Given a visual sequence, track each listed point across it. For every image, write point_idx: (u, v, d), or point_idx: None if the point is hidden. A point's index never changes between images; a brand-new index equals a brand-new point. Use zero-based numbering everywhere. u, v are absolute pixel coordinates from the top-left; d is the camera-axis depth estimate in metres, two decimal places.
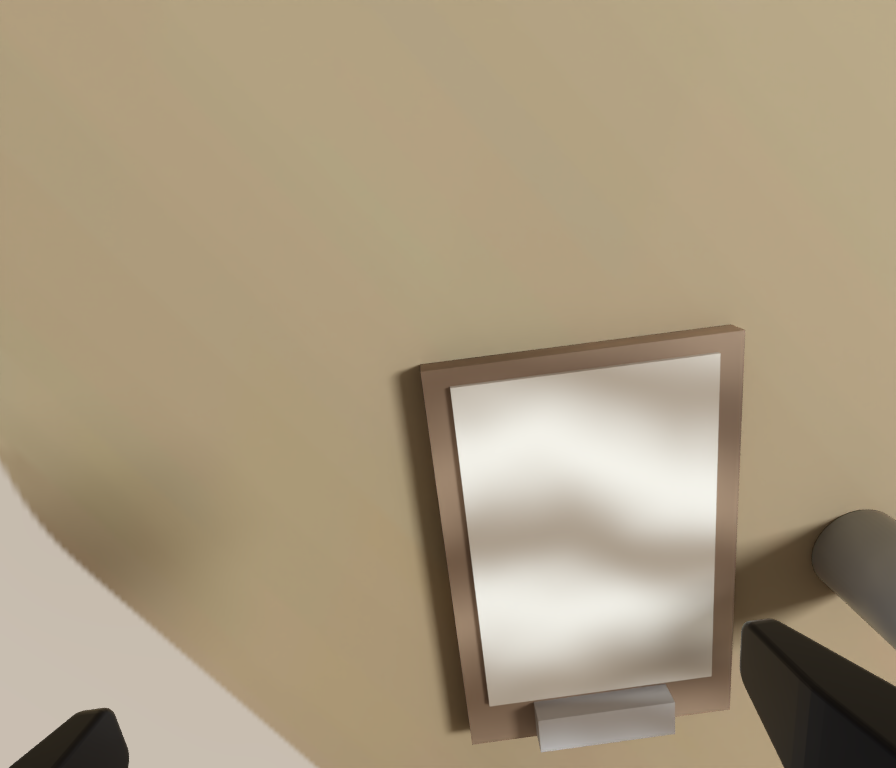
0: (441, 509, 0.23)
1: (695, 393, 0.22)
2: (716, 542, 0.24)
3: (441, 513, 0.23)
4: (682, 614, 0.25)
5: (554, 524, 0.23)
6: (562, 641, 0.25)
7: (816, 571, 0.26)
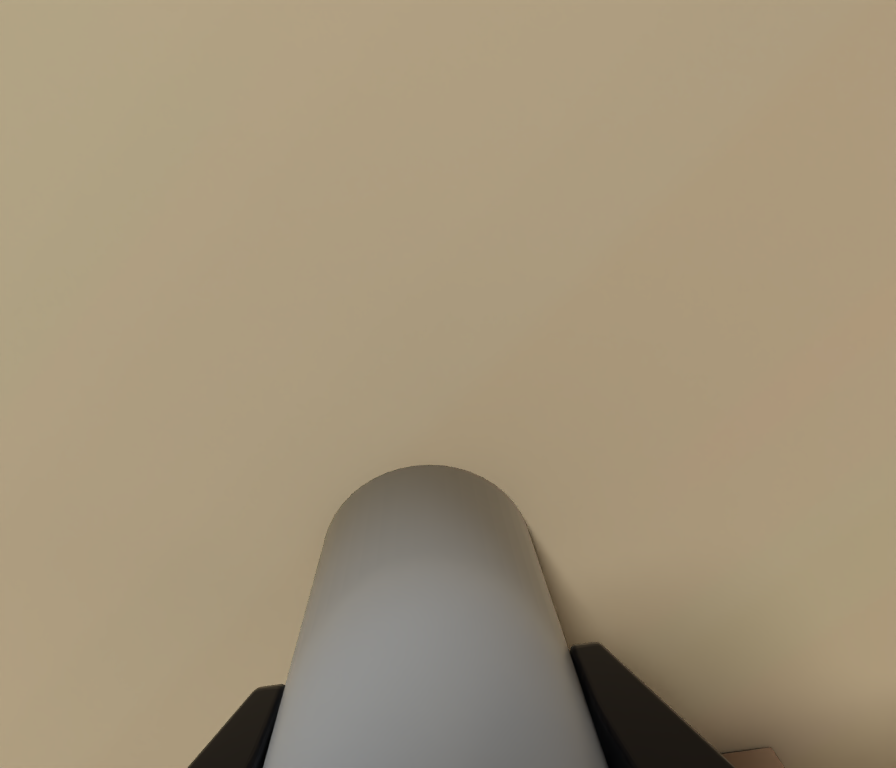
0: None
1: None
2: None
3: None
4: None
5: None
6: None
7: None
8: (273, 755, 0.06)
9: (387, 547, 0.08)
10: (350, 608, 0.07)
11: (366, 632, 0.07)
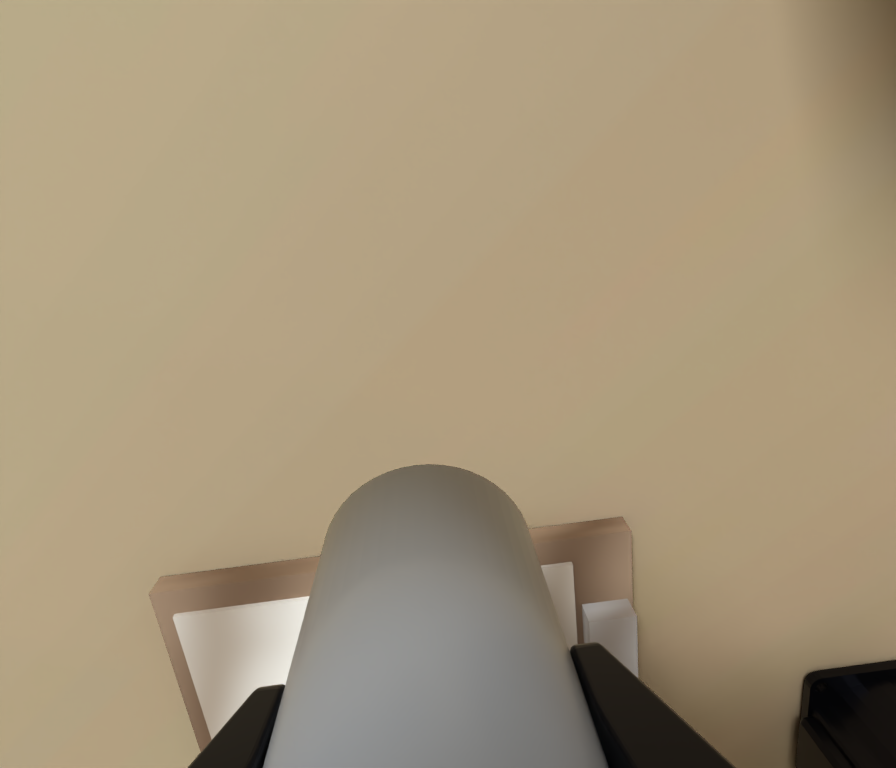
0: None
1: (217, 632, 0.22)
2: None
3: None
4: None
5: None
6: None
7: None
8: (273, 754, 0.06)
9: (387, 547, 0.08)
10: (350, 607, 0.07)
11: (366, 632, 0.07)
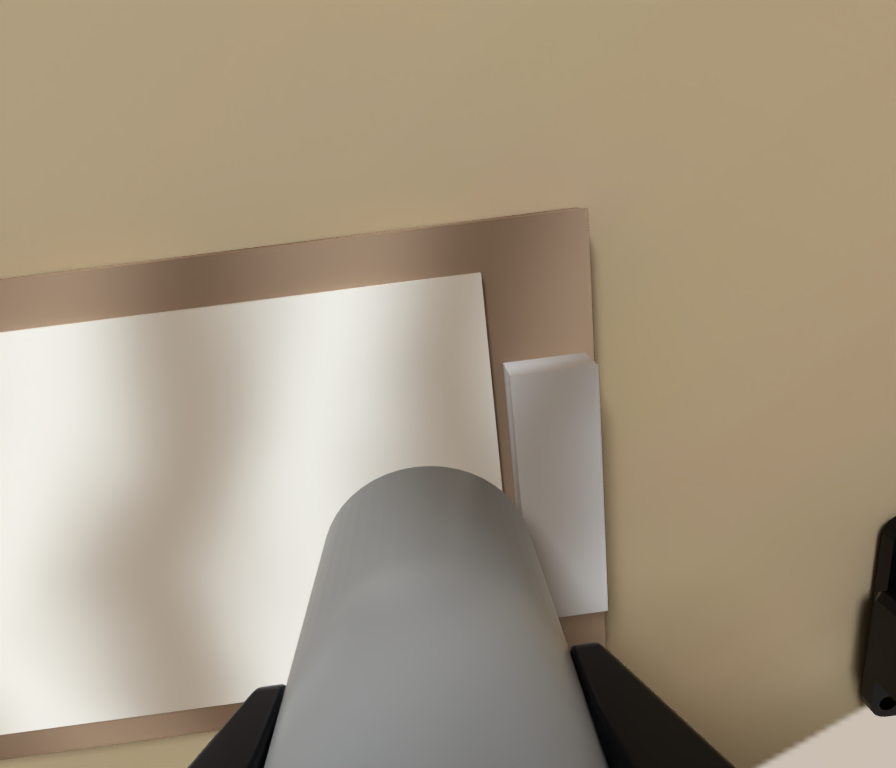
0: (143, 738, 0.15)
1: None
2: (149, 307, 0.12)
3: (150, 737, 0.15)
4: (317, 357, 0.12)
5: (140, 597, 0.14)
6: None
7: None
8: (273, 757, 0.06)
9: (387, 549, 0.08)
10: (351, 609, 0.07)
11: (366, 634, 0.07)
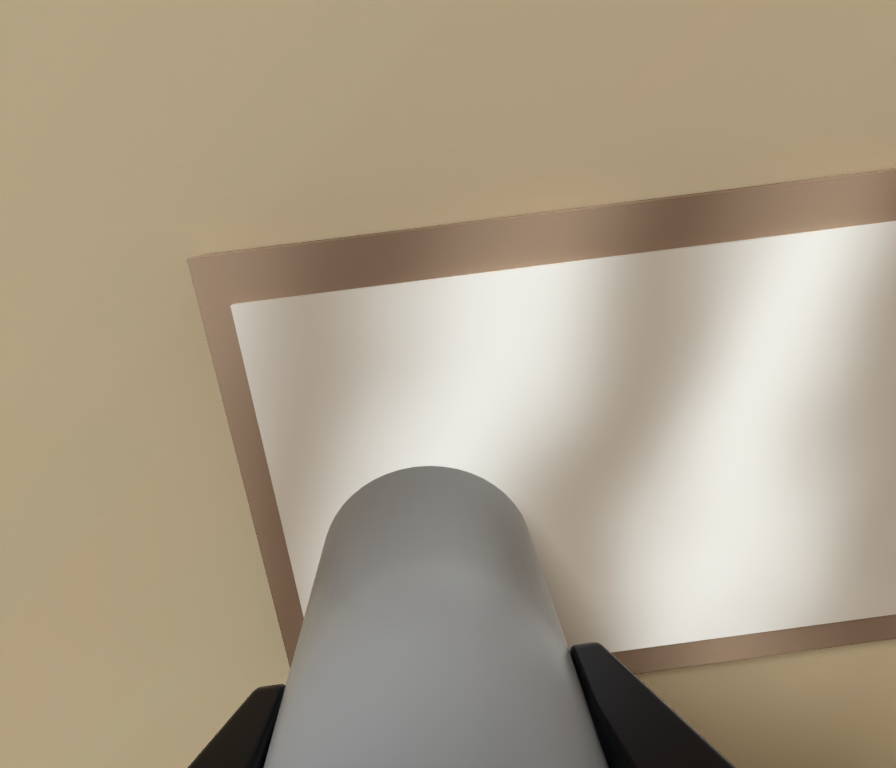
0: None
1: (309, 340, 0.12)
2: (626, 248, 0.12)
3: None
4: (781, 299, 0.12)
5: (554, 543, 0.14)
6: (791, 512, 0.14)
7: None
8: (273, 758, 0.06)
9: (387, 549, 0.08)
10: (350, 609, 0.07)
11: (366, 635, 0.07)
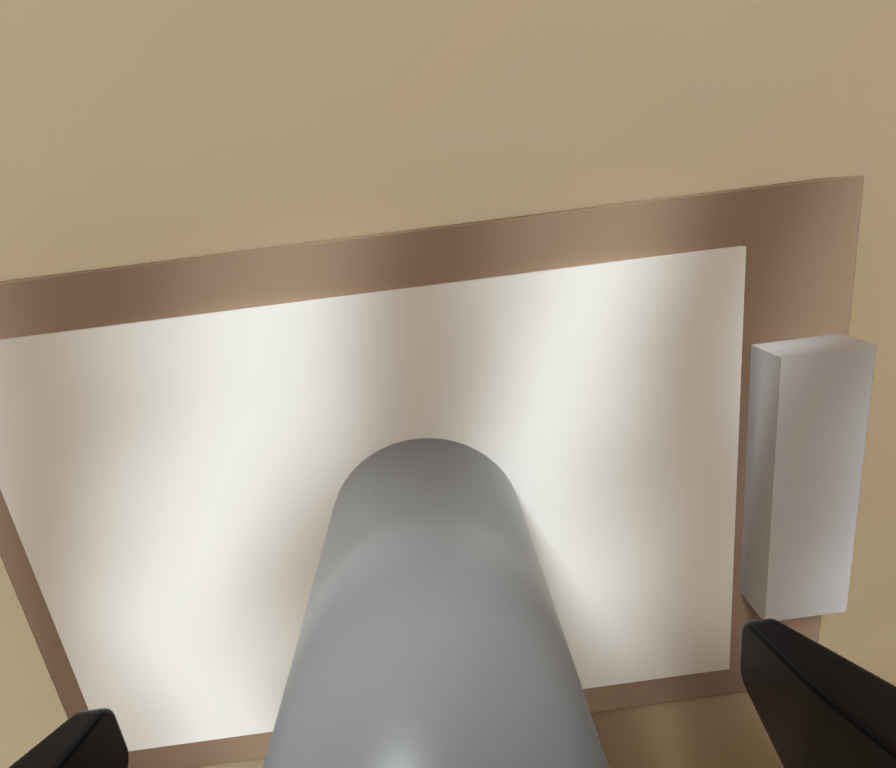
0: None
1: (39, 384, 0.11)
2: (386, 283, 0.11)
3: None
4: (561, 338, 0.11)
5: None
6: (600, 564, 0.13)
7: None
8: (297, 663, 0.07)
9: (391, 503, 0.09)
10: (359, 550, 0.08)
11: (374, 566, 0.08)
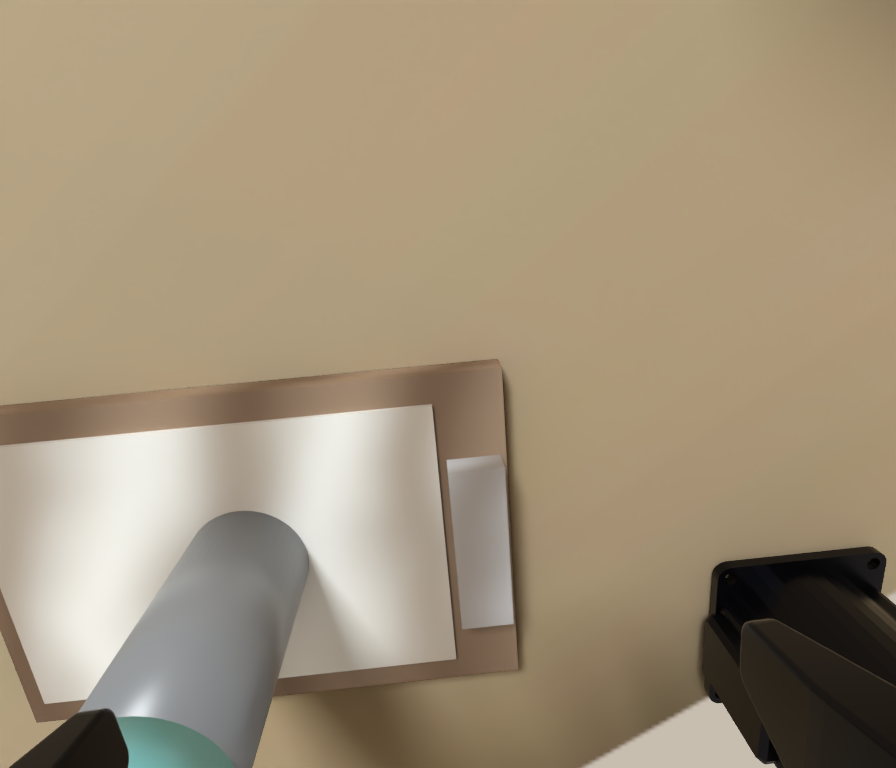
0: None
1: (5, 474, 0.18)
2: (216, 420, 0.18)
3: None
4: (324, 454, 0.19)
5: None
6: (363, 589, 0.20)
7: None
8: (124, 642, 0.14)
9: (200, 556, 0.17)
10: (171, 584, 0.16)
11: (172, 594, 0.15)
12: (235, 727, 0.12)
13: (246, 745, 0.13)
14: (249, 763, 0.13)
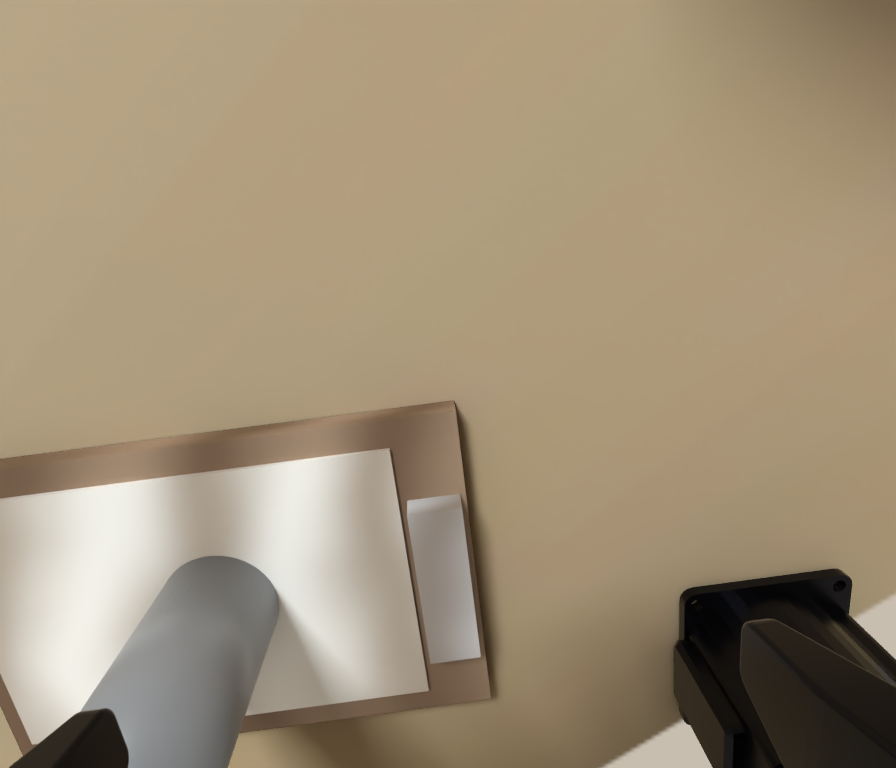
0: None
1: None
2: (182, 471, 0.19)
3: None
4: (288, 500, 0.19)
5: None
6: (333, 627, 0.21)
7: None
8: (90, 696, 0.15)
9: (166, 606, 0.17)
10: (137, 635, 0.16)
11: (136, 647, 0.16)
12: None
13: None
14: None
